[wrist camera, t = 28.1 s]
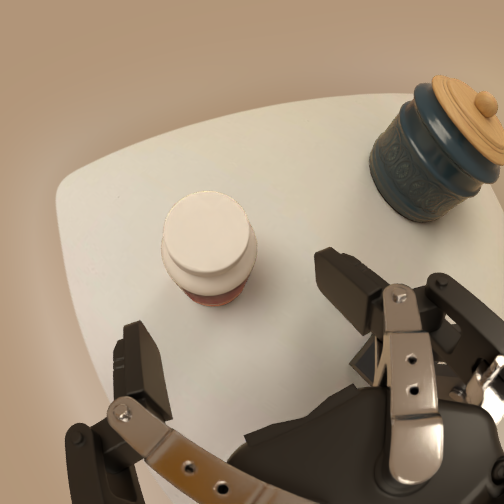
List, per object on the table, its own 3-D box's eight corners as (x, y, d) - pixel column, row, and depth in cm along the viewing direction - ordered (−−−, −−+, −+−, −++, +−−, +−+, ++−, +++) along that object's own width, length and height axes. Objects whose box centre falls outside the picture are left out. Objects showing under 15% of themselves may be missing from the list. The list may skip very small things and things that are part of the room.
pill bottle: (260, 266, 25) (287, 220, 15) (219, 320, 24) (218, 314, 13) (206, 227, 26) (199, 161, 15) (165, 278, 24) (127, 240, 14)
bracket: (348, 363, 24) (440, 378, 12) (394, 304, 26) (486, 280, 14) (396, 411, 23) (482, 436, 10) (435, 354, 25) (522, 352, 13)
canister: (452, 223, 30) (545, 165, 13) (384, 227, 28) (498, 141, 11) (422, 144, 33) (488, 72, 17) (353, 135, 32) (418, 32, 15)
